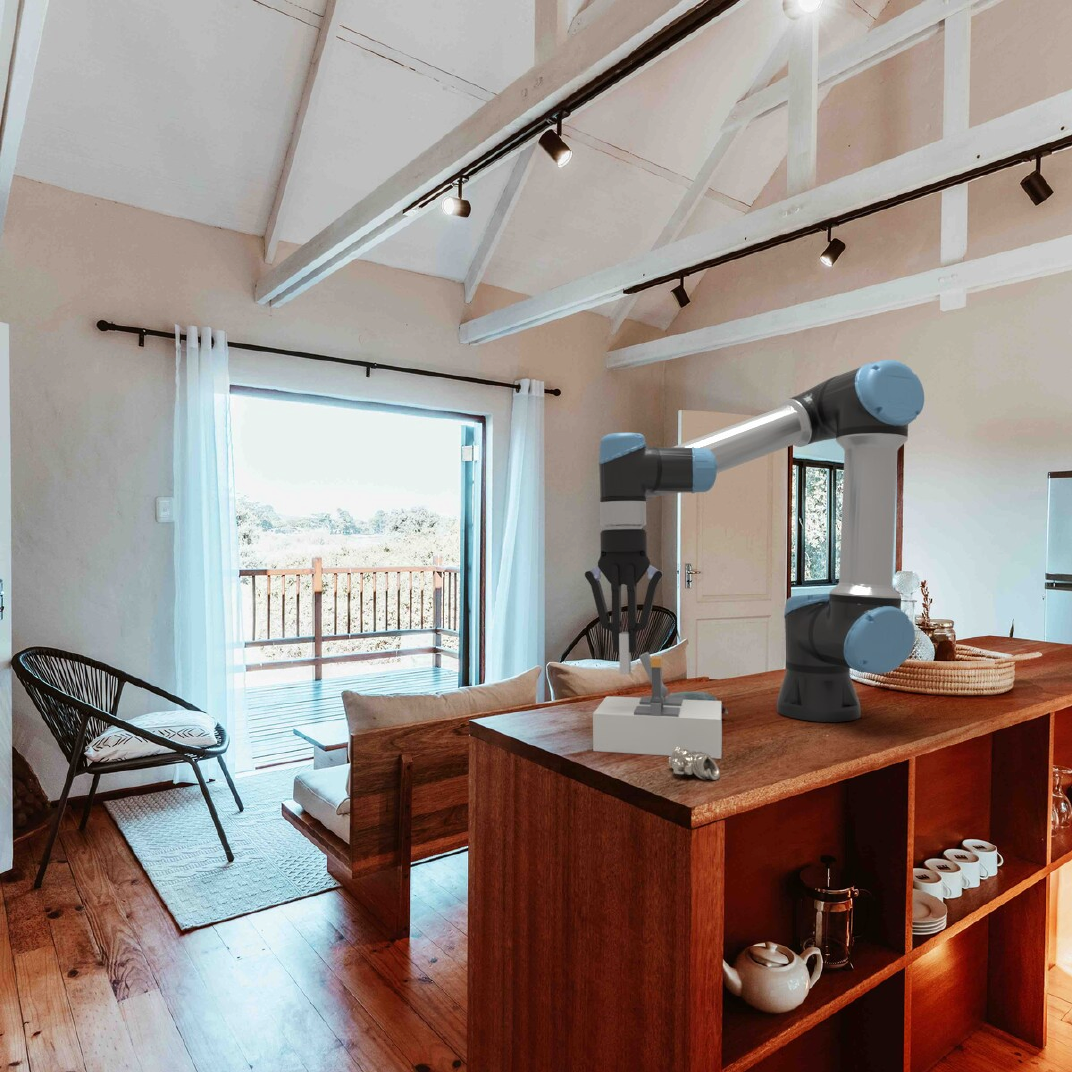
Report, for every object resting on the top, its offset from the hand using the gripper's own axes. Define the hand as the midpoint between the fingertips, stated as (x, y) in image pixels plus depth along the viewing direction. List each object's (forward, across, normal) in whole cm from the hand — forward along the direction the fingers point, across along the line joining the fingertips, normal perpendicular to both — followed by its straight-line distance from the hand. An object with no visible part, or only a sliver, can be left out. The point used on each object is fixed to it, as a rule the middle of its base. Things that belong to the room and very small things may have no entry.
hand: (625, 672), depth 122 cm
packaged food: (+13, -9, -25) cm, 29 cm away
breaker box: (+12, -5, -4) cm, 14 cm away
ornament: (+13, -11, +12) cm, 21 cm away
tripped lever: (+5, -5, 0) cm, 7 cm away
